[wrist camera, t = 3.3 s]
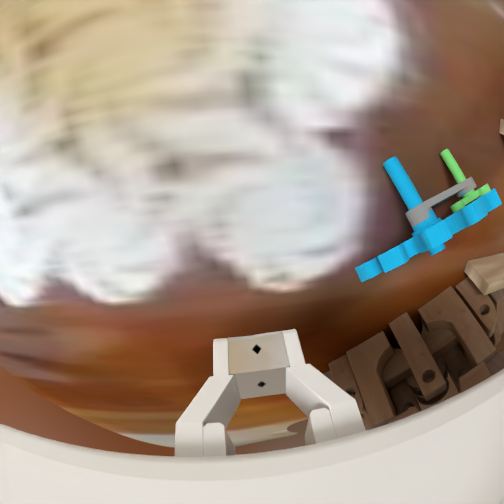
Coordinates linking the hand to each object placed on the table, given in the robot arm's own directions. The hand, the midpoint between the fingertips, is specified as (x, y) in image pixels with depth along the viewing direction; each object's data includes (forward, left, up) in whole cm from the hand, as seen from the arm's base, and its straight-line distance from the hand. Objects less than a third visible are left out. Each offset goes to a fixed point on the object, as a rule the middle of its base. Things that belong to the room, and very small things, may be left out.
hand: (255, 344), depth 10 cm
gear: (-1, +11, -9) cm, 14 cm away
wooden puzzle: (+17, +18, -9) cm, 26 cm away
